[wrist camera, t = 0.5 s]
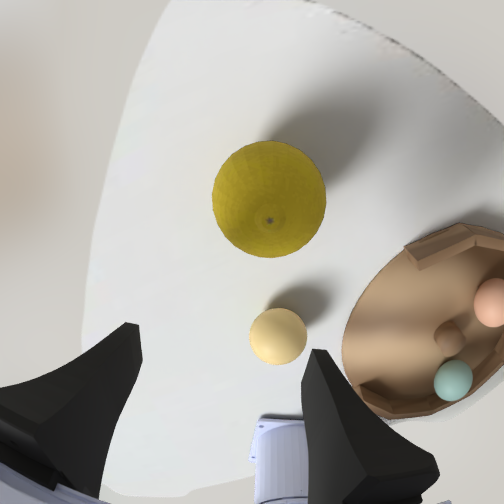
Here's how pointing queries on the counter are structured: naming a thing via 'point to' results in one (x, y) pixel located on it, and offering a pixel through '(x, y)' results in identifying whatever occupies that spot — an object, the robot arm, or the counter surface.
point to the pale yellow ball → (278, 336)
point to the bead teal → (453, 380)
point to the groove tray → (424, 322)
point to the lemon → (269, 199)
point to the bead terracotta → (490, 303)
